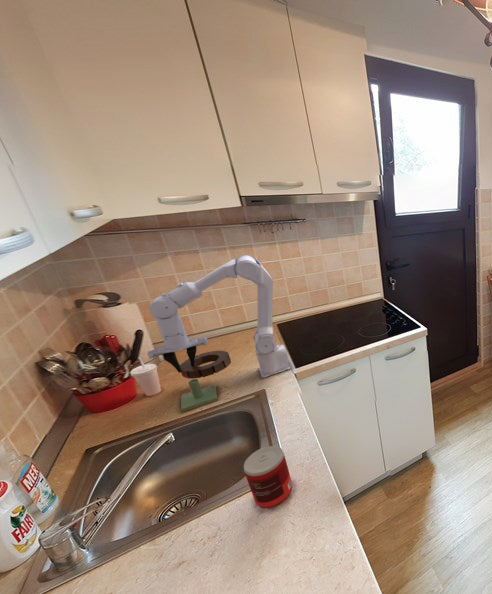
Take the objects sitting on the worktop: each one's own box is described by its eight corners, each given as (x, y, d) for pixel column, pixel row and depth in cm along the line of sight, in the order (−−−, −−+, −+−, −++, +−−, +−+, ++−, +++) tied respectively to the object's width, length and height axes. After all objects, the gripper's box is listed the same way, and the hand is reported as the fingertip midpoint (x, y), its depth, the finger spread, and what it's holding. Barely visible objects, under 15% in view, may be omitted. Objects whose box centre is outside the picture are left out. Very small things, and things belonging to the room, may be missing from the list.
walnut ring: (229, 353, 122) (227, 346, 121) (232, 368, 113) (230, 361, 112) (182, 366, 114) (180, 359, 113) (182, 383, 105) (179, 376, 104)
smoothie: (150, 399, 110) (134, 363, 105) (135, 397, 111) (119, 361, 106) (171, 388, 115) (156, 353, 110) (156, 385, 117) (141, 351, 112)
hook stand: (215, 387, 116) (209, 370, 113) (217, 400, 109) (211, 382, 107) (182, 398, 110) (175, 380, 108) (182, 412, 104) (174, 393, 101)
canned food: (281, 474, 82) (271, 440, 78) (300, 489, 78) (290, 454, 74) (248, 499, 76) (235, 463, 72) (267, 516, 72) (255, 479, 68)
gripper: (201, 322, 112) (213, 357, 117) (143, 335, 104) (158, 372, 108) (202, 329, 107) (214, 365, 112) (141, 343, 99) (157, 381, 103)
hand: (187, 369), depth 110 cm, fingers closed on walnut ring, 3 cm apart
